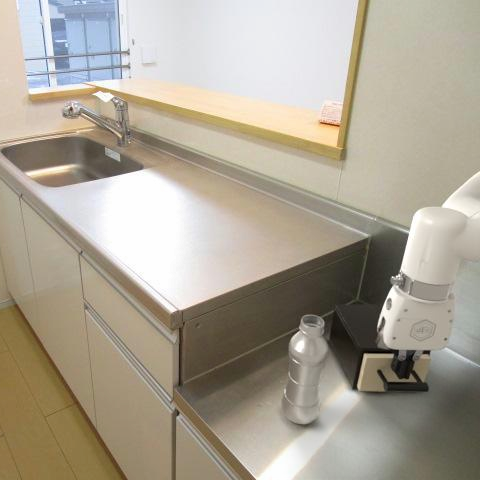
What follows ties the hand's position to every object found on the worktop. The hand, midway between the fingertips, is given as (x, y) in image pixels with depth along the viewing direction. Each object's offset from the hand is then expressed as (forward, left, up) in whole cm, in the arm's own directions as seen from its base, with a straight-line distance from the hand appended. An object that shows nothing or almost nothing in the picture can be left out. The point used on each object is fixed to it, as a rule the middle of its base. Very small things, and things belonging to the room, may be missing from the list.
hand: (399, 373), depth 80 cm
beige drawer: (0, -6, -6) cm, 8 cm away
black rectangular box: (0, -11, -7) cm, 13 cm away
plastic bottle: (+18, +3, -7) cm, 19 cm away
